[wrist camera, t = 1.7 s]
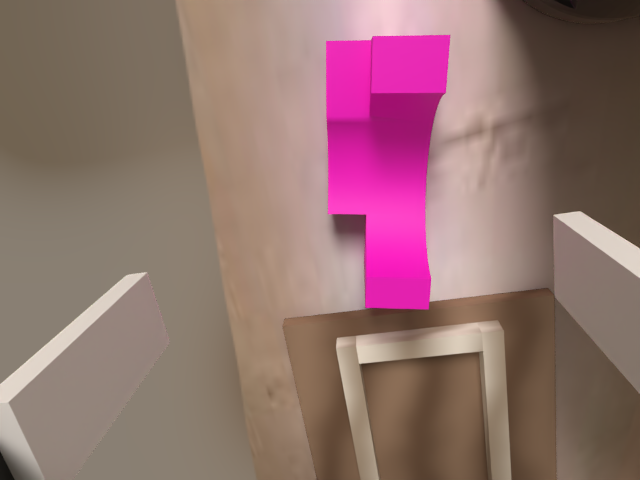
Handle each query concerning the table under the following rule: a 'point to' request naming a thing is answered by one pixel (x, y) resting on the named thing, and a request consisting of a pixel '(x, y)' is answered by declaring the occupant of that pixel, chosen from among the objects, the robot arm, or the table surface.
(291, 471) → the table surface
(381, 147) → the toy block
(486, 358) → the locating board
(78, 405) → the robot arm
